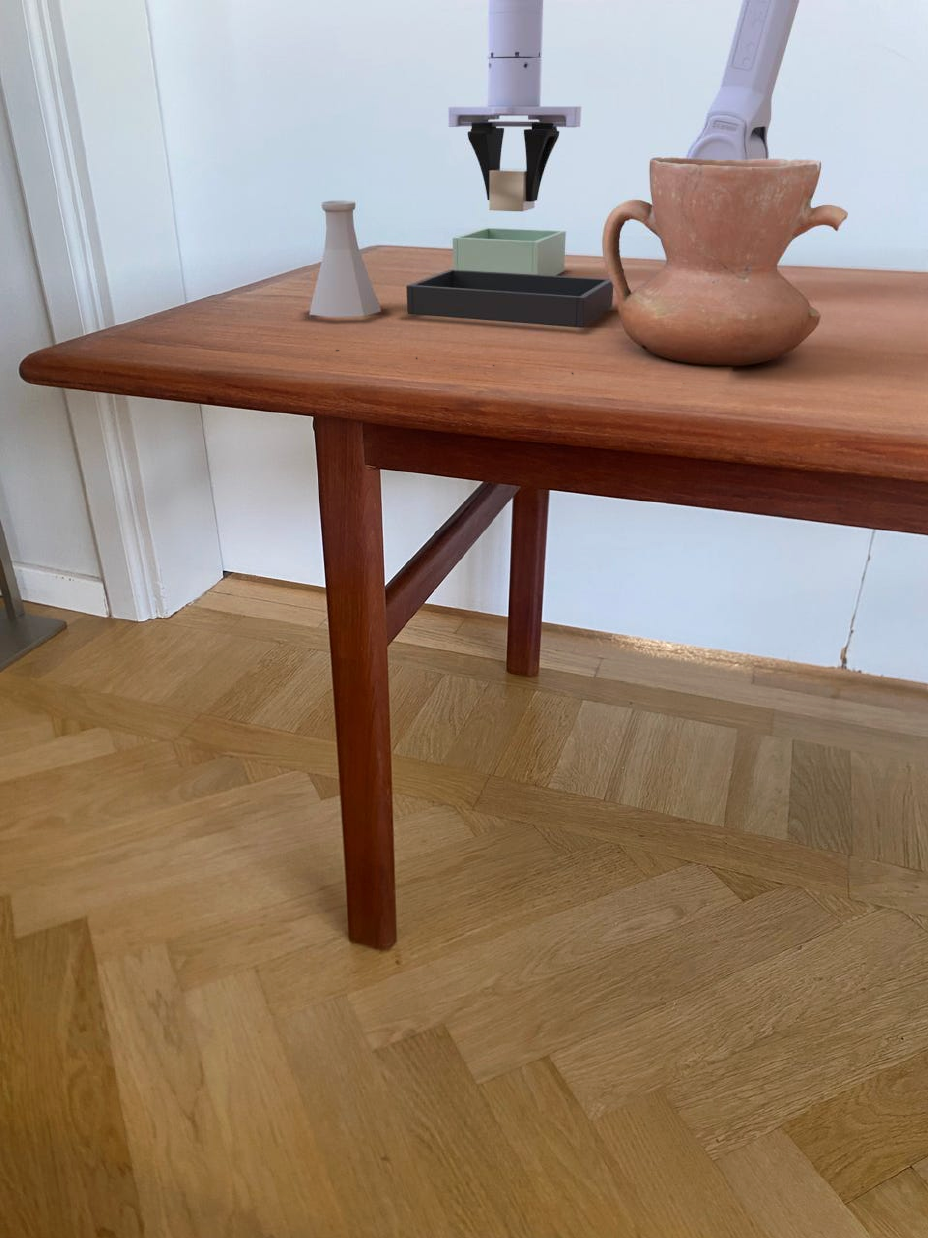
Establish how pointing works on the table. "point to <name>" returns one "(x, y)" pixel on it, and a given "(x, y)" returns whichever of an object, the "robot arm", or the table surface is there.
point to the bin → (510, 251)
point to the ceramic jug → (720, 259)
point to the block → (508, 190)
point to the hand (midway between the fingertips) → (512, 200)
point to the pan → (511, 297)
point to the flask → (342, 269)
